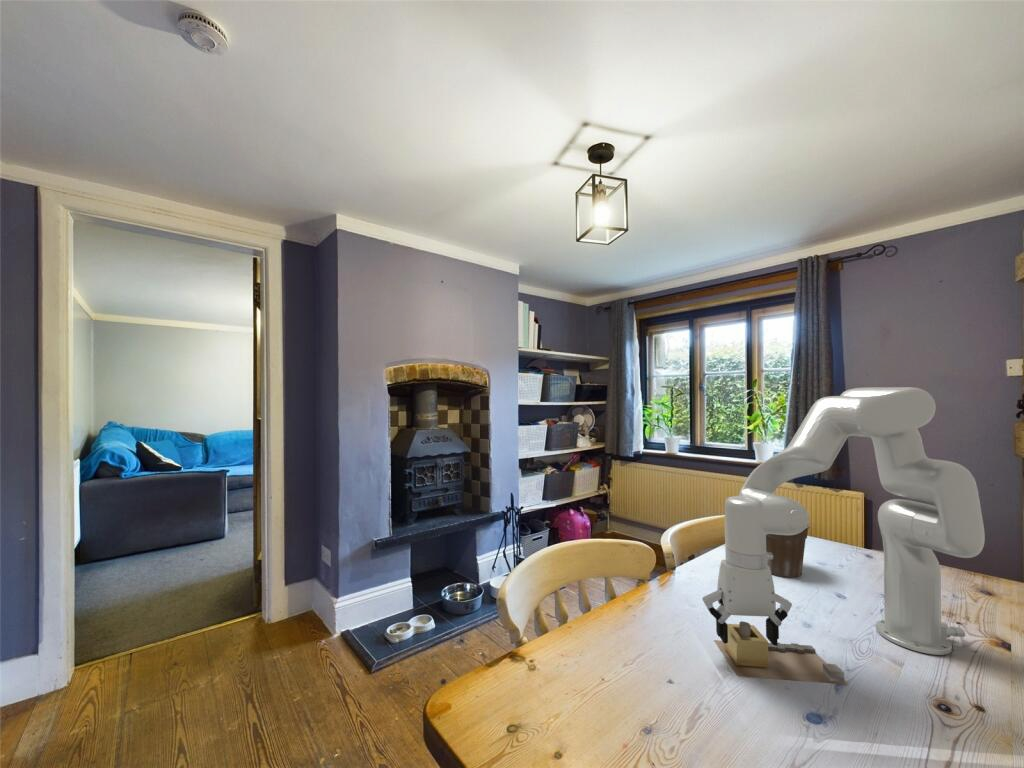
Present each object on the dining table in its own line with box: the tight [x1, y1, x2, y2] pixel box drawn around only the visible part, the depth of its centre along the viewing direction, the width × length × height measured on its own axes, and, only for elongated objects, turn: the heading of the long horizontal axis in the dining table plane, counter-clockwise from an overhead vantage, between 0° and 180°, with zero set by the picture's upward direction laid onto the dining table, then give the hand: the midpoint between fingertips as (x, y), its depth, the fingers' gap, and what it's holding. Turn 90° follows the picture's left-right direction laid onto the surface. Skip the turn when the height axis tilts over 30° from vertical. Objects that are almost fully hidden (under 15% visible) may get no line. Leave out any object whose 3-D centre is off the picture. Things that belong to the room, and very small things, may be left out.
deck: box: [713, 620, 848, 685], centre depth 86 cm, size 20×12×8 cm, turn 85°
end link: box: [724, 623, 769, 667], centre depth 87 cm, size 6×6×5 cm
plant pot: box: [766, 523, 811, 579], centre depth 135 cm, size 16×16×16 cm
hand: (747, 640), depth 87 cm, fingers open, 9 cm apart
